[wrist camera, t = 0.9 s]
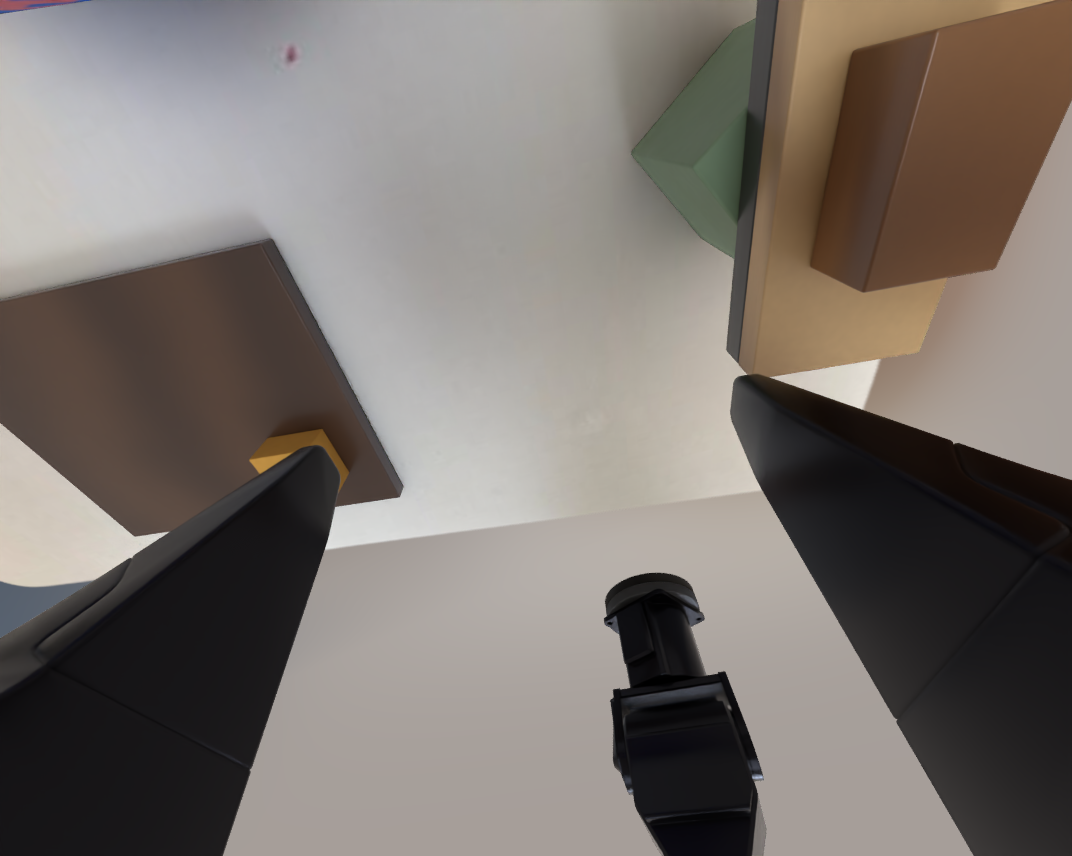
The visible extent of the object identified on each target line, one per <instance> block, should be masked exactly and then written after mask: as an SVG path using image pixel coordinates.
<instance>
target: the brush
mask: <svg viewBox="0 0 1072 856" xmlns="http://www.w3.org/2000/svg"><path fill="white" fill-rule="evenodd" d="M1071 101H1072V0H757V11H756V22H755V34H754V45H753V56H752V67H751V78H750V90H749V101H748V112H747V123H746V134H745V146H744V157H743V168H742V179H741V190H740V202H739V213H738V224H737V235H736V246H735V258H734V269H733V280H732V291H731V302H730V314H729V325H728V336H727V347H726V350H727V352H728V353H729V354H730V355H731V356H732V357H733V358H734V360H735V361H736V362H737V363H739V366H740V367H741V368H742V369H743V370H744V371H745V372H746V374H747V375H750V374H761V375H763V376H766V377H773V376H779V375H785V374H791V373H797V372H803V371H809V370H816V369H822V368H828V367H834V366H840V365H846V364H852V363H858V362H864V361H870V360H876V359H882V358H888V357H894V356H900V355H907V354H913V353H918V352H919V351H920V348H921V345H922V343H923V340H924V338H925V335H926V333H927V330H928V328H929V325H930V323H931V320H932V318H933V315H934V313H935V310H936V307H937V305H938V302H939V300H940V297H941V295H942V292H943V290H944V287H945V284H946V282H947V279H948V278H950V277H955V276H960V275H966V274H972V273H977V272H983V271H988V270H993V269H995V268H996V266H997V264H998V262H999V260H1000V257H1001V255H1002V253H1003V251H1004V249H1005V247H1006V244H1007V242H1008V240H1009V238H1010V235H1011V233H1012V231H1013V229H1014V227H1015V224H1016V222H1017V220H1018V218H1019V216H1020V213H1021V211H1022V209H1023V207H1024V205H1025V202H1026V200H1027V198H1028V196H1029V193H1030V191H1031V189H1032V187H1033V185H1034V183H1035V180H1036V178H1037V176H1038V174H1039V171H1040V169H1041V167H1042V165H1043V163H1044V160H1045V158H1046V156H1047V154H1048V152H1049V149H1050V147H1051V145H1052V143H1053V141H1054V138H1055V136H1056V134H1057V132H1058V129H1059V127H1060V125H1061V123H1062V121H1063V119H1064V116H1065V114H1066V112H1067V110H1068V107H1069V105H1070V103H1071Z"/></svg>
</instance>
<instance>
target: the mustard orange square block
mask: <svg viewBox="0 0 1072 856" xmlns="http://www.w3.org/2000/svg"><path fill="white" fill-rule="evenodd" d="M313 445H320V446H322V447H324V448H325V450H326V451H327V453H328V454H329V456H330V458H331V459H332V461H333V462H334V464H335V465H336V467H337V469H338V470H339V473H340V477H341V482H340V487H339V491H340V489H341V487H342V485H343V483H344V482H345V480H346V478H347V476H348V474H349V471H348V470H347V468H346V466H345V465H344V463H343V461H342V460H341V458H340V457H339V455H338V453H337V452H336V450H335V449H334V447H333V445H332V444H331V442H330V441H329V439H328V437H327V436H326V434H325V432H324V431H323V429H318V430H312V431H306V432H301V433H295V434H289V435H283V436H277V437H271V438H267V439H266V441H265V442H264V443H263V444H262V445H261V446H260V448H259V449H258V450H257V451H256V452H255V453H254V455H253V456H252V457H251V458H250V459H249V461H250V462H251V463H252V464H253V466H254V467H255V468H256V469H257V471H258V472H259V473H260V474H261V473H262V472H264V471H265V470H267V469H268V468H270V467H272V466H273V465H275V464H276V463H278V462H279V461H281V460H282V459H284V458H286V457H287V456H289V455H290V454H292V453H293V452H295V451H296V450H298V449H300V448H302V447H306V446H313ZM339 491H338V493H339Z"/></svg>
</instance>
